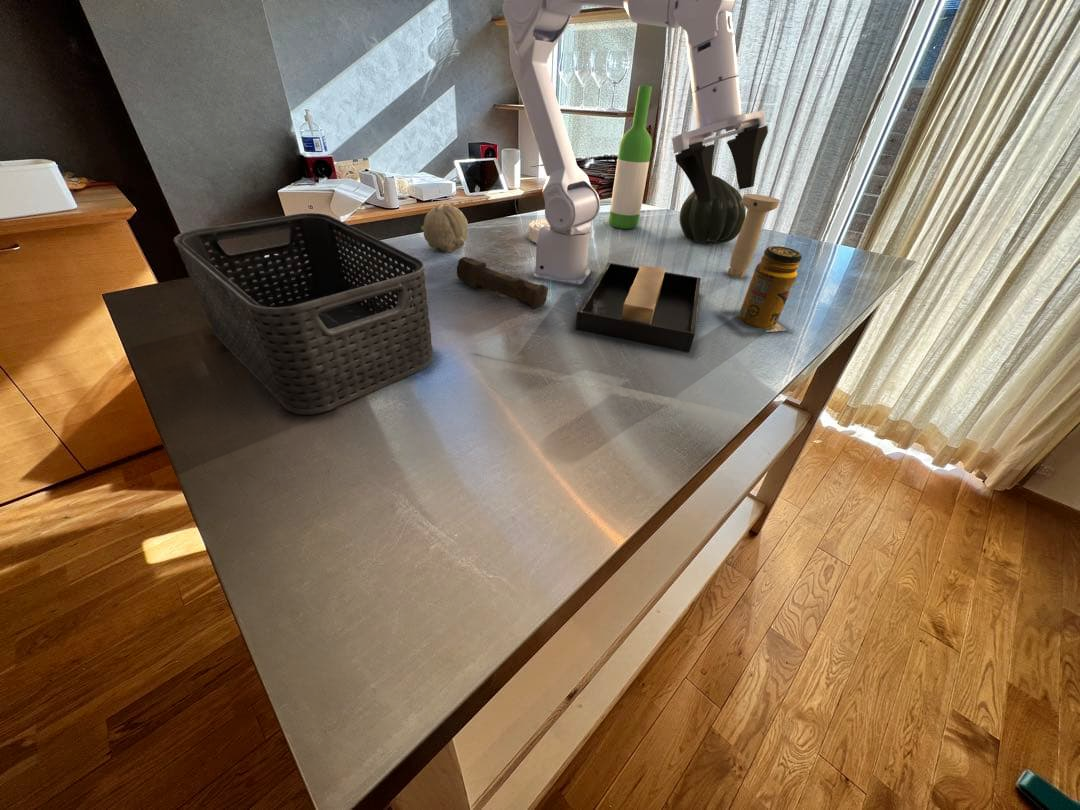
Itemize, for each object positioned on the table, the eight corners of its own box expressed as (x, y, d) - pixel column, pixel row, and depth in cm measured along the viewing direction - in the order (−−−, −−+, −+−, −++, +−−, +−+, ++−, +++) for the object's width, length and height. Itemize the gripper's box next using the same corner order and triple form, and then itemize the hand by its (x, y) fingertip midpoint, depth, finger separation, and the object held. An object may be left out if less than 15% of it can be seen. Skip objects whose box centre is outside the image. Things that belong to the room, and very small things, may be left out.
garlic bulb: (467, 259, 97) (482, 216, 91) (440, 263, 90) (454, 217, 84) (437, 237, 99) (449, 193, 93) (409, 239, 92) (420, 192, 87)
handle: (746, 283, 88) (774, 203, 79) (715, 274, 91) (739, 196, 82) (755, 277, 91) (783, 199, 82) (725, 268, 94) (749, 192, 85)
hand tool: (548, 305, 75) (550, 279, 72) (534, 312, 72) (536, 285, 70) (468, 276, 84) (467, 251, 81) (452, 281, 81) (451, 256, 78)
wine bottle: (607, 228, 114) (627, 85, 96) (608, 220, 120) (628, 84, 102) (637, 231, 113) (664, 87, 95) (637, 223, 119) (662, 86, 101)
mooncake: (532, 229, 109) (533, 214, 107) (580, 234, 108) (582, 219, 106) (524, 244, 100) (525, 228, 98) (577, 249, 99) (579, 233, 97)
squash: (756, 230, 99) (755, 166, 100) (689, 229, 99) (689, 165, 101) (729, 256, 114) (728, 200, 115) (671, 255, 114) (671, 199, 115)
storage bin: (445, 361, 59) (436, 263, 51) (300, 426, 47) (259, 312, 39) (338, 294, 74) (318, 209, 66) (208, 331, 62) (163, 233, 54)
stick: (619, 330, 68) (624, 303, 66) (636, 288, 82) (640, 265, 79) (647, 335, 67) (653, 309, 65) (660, 292, 81) (665, 269, 78)
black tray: (574, 331, 68) (577, 311, 66) (605, 279, 86) (607, 262, 84) (688, 354, 64) (694, 334, 62) (695, 295, 82) (700, 277, 80)
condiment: (786, 331, 72) (818, 258, 65) (741, 334, 70) (769, 259, 63) (759, 311, 78) (786, 242, 70) (717, 313, 76) (740, 243, 69)
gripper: (692, 86, 53) (707, 204, 58) (781, 62, 57) (787, 176, 62) (656, 105, 59) (672, 211, 65) (738, 83, 63) (747, 185, 68)
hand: (726, 194), depth 64 cm, fingers open, 7 cm apart
